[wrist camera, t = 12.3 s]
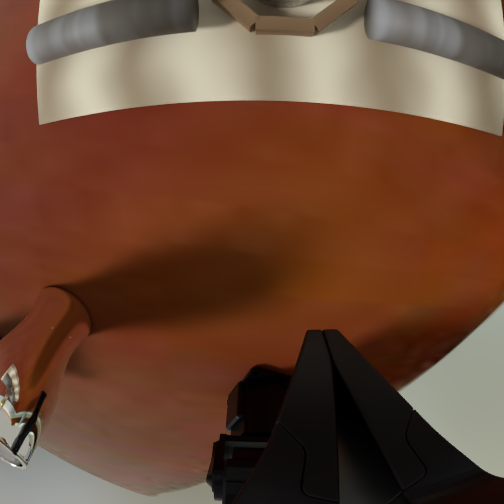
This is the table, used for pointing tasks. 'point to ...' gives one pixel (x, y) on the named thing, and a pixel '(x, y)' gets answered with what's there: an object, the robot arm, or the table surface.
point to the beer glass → (36, 370)
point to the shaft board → (273, 55)
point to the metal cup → (284, 3)
